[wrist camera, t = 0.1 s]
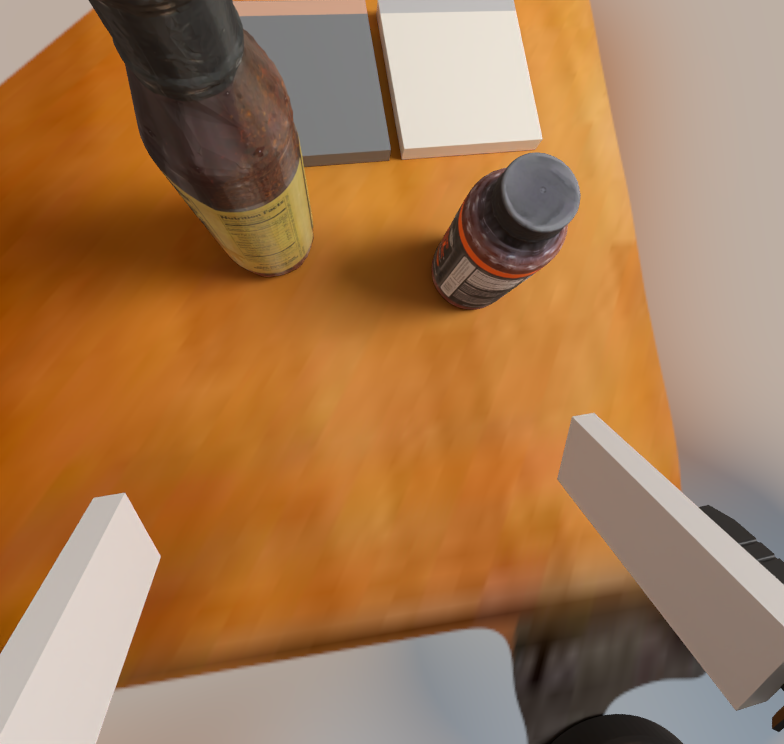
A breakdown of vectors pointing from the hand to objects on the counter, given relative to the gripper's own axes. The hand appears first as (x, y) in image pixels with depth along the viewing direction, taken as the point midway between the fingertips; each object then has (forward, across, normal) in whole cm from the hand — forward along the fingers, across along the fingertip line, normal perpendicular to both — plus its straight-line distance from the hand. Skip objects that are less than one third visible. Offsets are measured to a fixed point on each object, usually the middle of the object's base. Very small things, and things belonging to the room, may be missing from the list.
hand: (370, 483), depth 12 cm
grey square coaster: (+28, 0, -12) cm, 30 cm away
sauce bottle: (+22, +4, -3) cm, 22 cm away
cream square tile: (+28, -12, -12) cm, 33 cm away
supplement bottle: (+19, -10, 0) cm, 22 cm away
